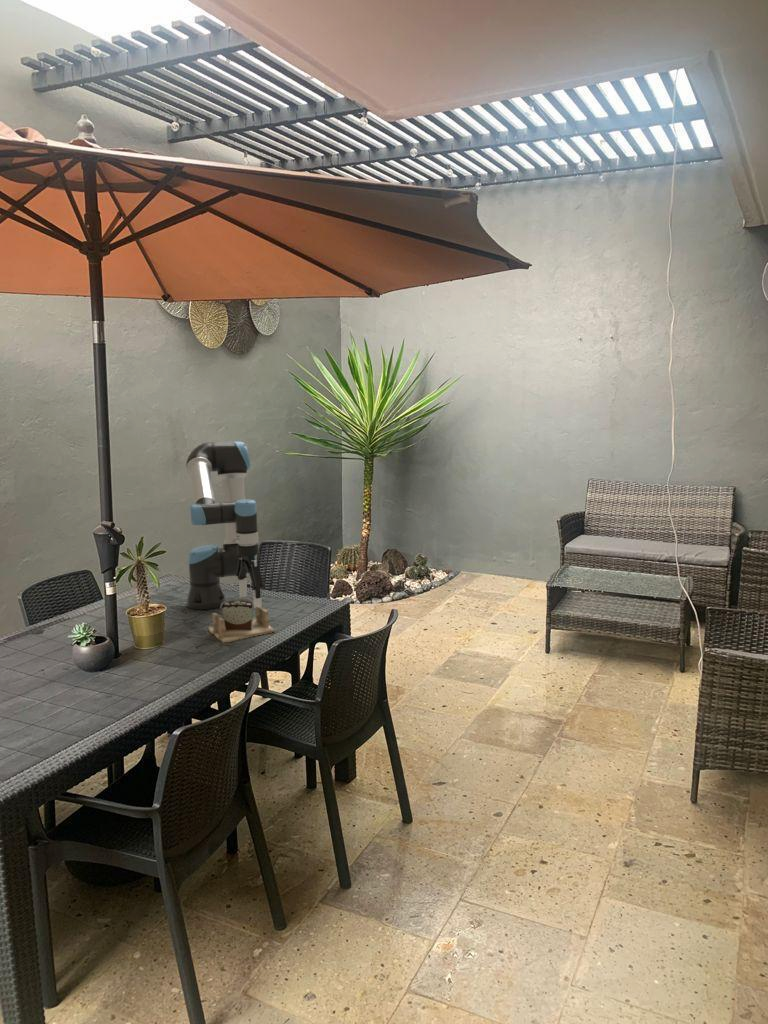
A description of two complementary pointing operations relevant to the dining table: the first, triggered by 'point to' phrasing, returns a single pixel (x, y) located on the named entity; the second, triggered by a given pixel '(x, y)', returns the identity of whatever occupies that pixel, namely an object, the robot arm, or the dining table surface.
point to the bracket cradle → (258, 628)
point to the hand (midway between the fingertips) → (250, 601)
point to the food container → (237, 614)
